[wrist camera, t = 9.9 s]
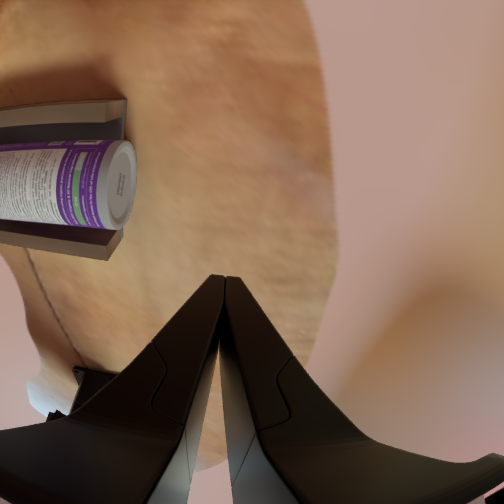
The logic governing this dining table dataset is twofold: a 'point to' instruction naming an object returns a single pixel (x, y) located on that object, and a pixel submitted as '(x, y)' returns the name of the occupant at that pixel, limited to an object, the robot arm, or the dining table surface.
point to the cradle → (62, 129)
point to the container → (68, 182)
